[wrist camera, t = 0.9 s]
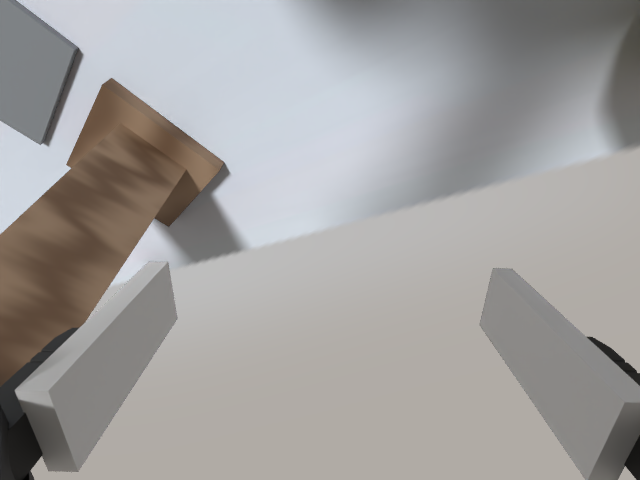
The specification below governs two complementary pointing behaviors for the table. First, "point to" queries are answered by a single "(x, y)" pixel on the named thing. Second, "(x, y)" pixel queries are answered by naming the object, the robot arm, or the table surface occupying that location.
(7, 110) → the mat
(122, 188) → the pedestal
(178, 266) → the table surface
